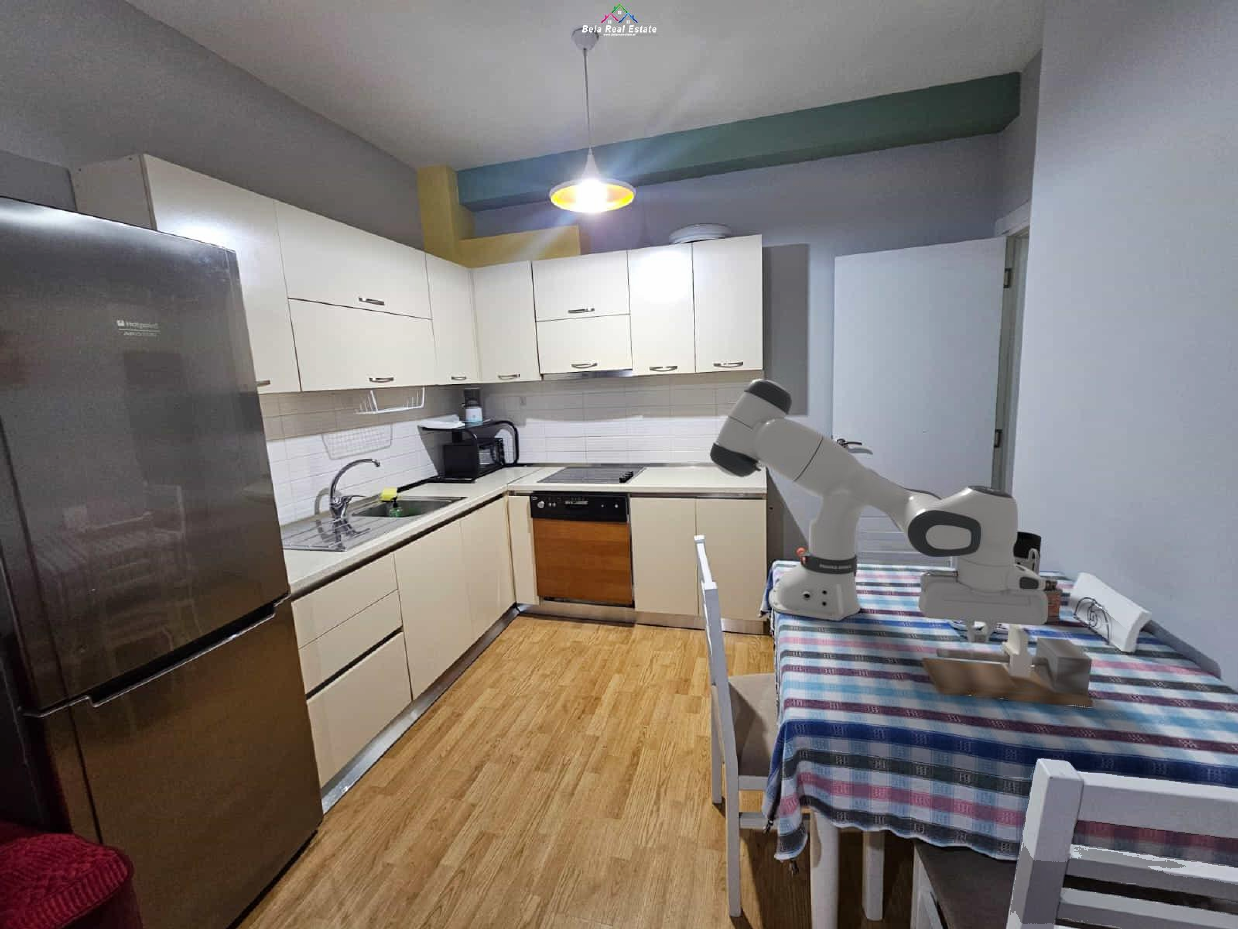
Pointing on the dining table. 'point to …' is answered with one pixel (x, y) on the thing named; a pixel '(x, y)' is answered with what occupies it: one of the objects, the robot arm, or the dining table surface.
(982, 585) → the robot arm
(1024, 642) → the white stepped block
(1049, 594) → the lighter
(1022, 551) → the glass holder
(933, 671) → the rod board
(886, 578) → the dining table surface
